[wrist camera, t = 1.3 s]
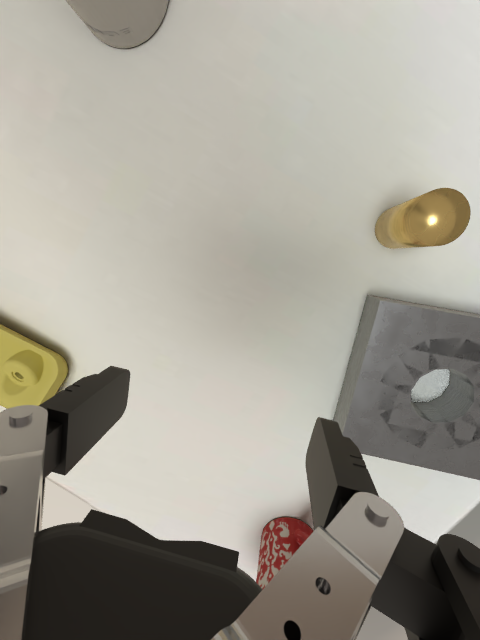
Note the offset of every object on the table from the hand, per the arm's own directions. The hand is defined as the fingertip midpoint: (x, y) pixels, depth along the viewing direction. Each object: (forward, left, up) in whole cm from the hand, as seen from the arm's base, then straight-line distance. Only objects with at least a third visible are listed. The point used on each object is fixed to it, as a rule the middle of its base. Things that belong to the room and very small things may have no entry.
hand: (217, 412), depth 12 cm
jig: (+4, +19, -21) cm, 29 cm away
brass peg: (-11, +12, -21) cm, 27 cm away
